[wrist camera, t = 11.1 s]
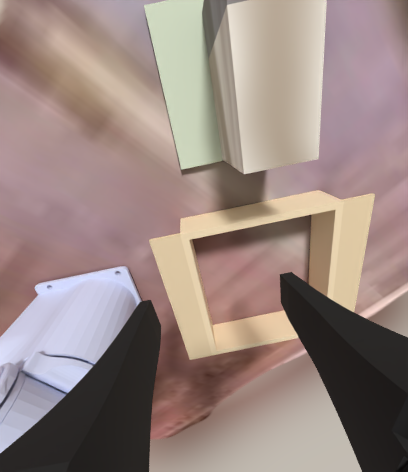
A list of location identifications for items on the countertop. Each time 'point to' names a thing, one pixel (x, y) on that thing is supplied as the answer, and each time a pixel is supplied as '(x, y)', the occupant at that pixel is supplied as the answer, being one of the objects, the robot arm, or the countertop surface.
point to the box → (266, 79)
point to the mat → (186, 79)
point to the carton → (311, 203)
